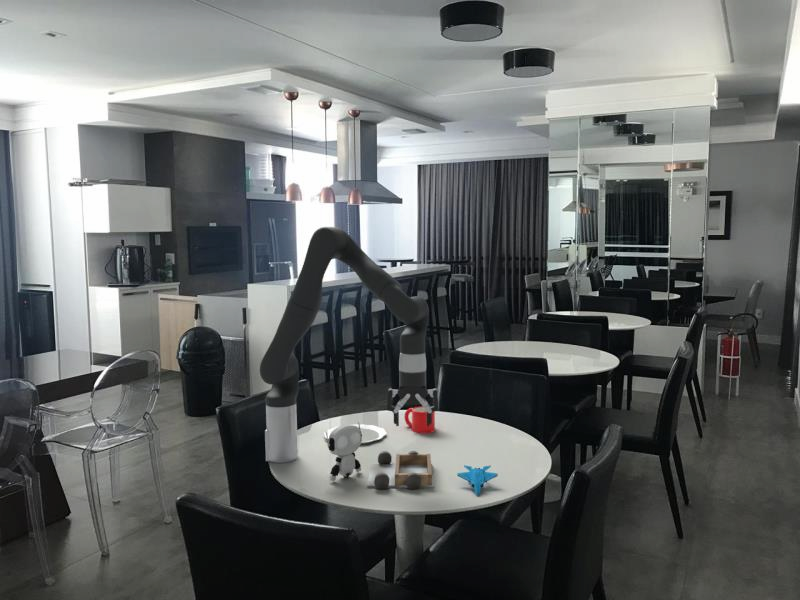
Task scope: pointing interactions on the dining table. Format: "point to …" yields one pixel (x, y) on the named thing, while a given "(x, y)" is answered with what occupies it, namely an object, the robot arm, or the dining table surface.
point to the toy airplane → (477, 477)
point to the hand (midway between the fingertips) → (412, 425)
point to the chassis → (401, 471)
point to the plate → (369, 427)
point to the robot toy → (345, 449)
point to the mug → (419, 420)
